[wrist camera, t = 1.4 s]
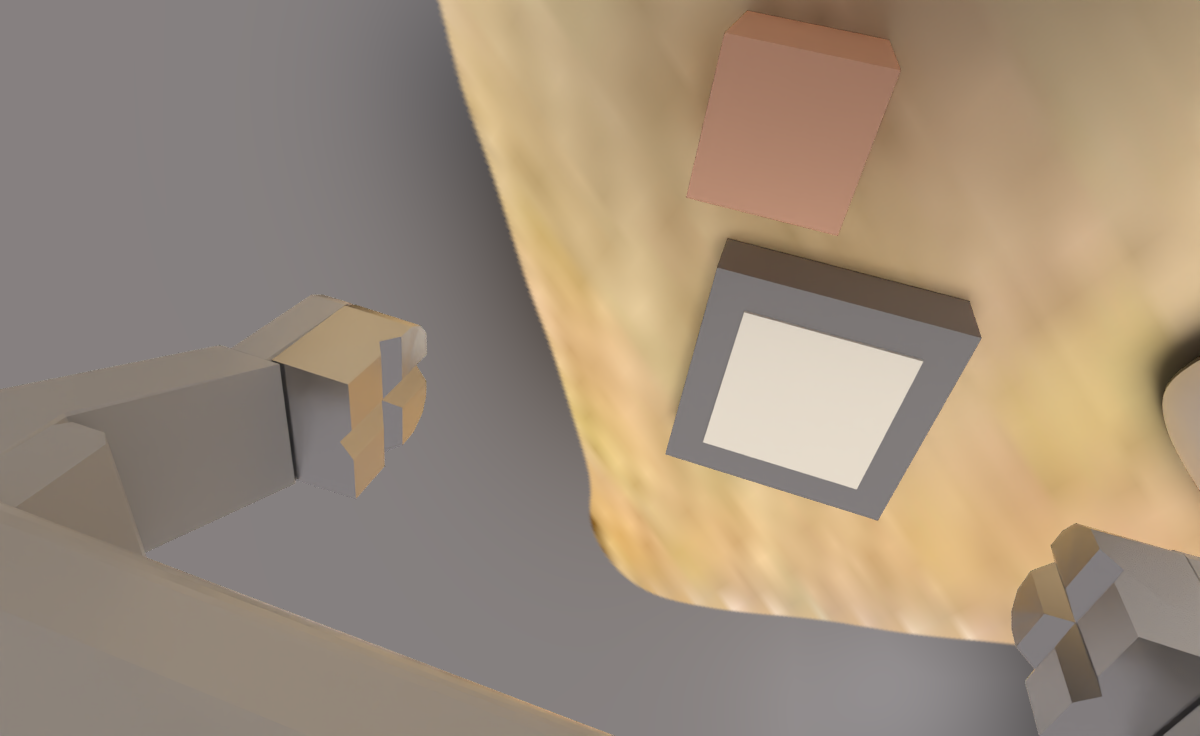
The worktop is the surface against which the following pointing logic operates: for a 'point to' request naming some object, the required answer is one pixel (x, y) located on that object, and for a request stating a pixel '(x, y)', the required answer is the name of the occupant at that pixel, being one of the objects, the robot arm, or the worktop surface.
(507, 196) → the worktop surface
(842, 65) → the block
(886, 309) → the base
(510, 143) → the worktop surface
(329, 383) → the robot arm
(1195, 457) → the spread jar
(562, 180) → the worktop surface
